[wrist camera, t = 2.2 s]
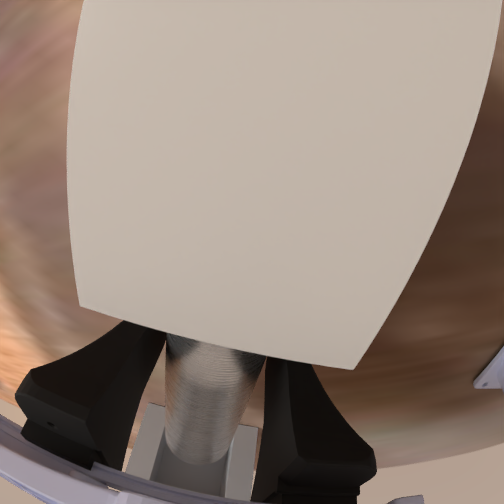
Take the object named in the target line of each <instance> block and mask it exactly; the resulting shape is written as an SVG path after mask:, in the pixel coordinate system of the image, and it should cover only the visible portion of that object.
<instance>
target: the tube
mask: <svg viewBox="0 0 504 504" xmlns="http://www.w3.org/2000/svg"><path fill="white" fill-rule="evenodd" d="M265 359H266V355H261V354H256V353H251V352H246V351H242V350H237V349H232V348H228V347H224V346H219V345H215V344H211V343H206V342H202V341H198V340H194V339H190V338H186V337H182V336H179V335H175V334H171V333H167V335H166V365H165V437H166V442H167V445H168V447H169V449H170V450H171V451H172V453H173V454H174V455H175V456H177V457H178V458H179V459H181V460H183V461H185V462H187V463H190V464H195V465H206V464H210V463H214V462H216V461H218V460H219V459H221V458H222V457H223V456H224V455H225V454H226V452H227V450H228V448H229V446H230V444H231V441H232V439H233V437H234V434H235V432H236V430H237V427H238V425H239V423H240V420H241V418H242V416H243V413H244V411H245V408H246V406H247V404H248V401H249V399H250V396H251V394H252V391H253V389H254V387H255V384H256V382H257V379H258V377H259V374H260V372H261V369H262V367H263V364H264V361H265Z"/></svg>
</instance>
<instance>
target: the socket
mask: <svg viewBox="0 0 504 504" xmlns="http://www.w3.org/2000/svg"><path fill="white" fill-rule="evenodd" d="M257 434H258V428H257V427H251V426H245V425H240V424H239V425H238V427H237V430H236V432H235V434H234V437H233V439H232V441H231V444H230V446H229V448H228V450H227V452H226V454H225V455H224V456H223V457H222V458H221V459H219V460H218V461H216V462H214V463H210V464H206V465H195V464H190V463H187V462H185V461H183V460H181V459H179V458H178V457H177V456H175V455H174V454H173V453H172V451H171V450H170V449H169V447H168V445H167V442H166V437H165V407H162V406H159V405H155V404H152V403H148V406H147V408H146V411H145V414H144V417H143V420H142V423H141V426H140V429H139V432H138V435H137V438H136V441H135V444H134V447H133V450H132V453H131V456H130V459H129V462H128V465H127V468H126V471H125V473H127V474H130V475H133V476H136V477H140V478H143V479H146V480H150V481H153V482H157V483H160V484H164V485H168V486H171V487H175V488H179V489H184V490H188V491H192V492H197V493H202V494H207V495H212V496H217V497H223V498H229V499H236V500H242V501H250V497H251V489H252V480H253V471H254V462H255V453H256V444H257Z"/></svg>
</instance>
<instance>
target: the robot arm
mask: <svg viewBox="0 0 504 504" xmlns="http://www.w3.org/2000/svg"><path fill="white" fill-rule="evenodd" d="M166 335H167V332H164V331H160V330H156V329H153V328H149V327H146V326H142V325H139V324H135V323H132V322H129V321H125V320H123V321H122V322H121V323H119V324H118V325H117V326H116V327H114V328H113V329H112V330H110V331H109V332H108V333H106V334H105V335H103V336H102V337H100V338H99V339H97V340H96V341H94V342H92V343H91V344H89V345H87V346H85V347H84V348H82V349H80V350H78V351H76V352H74V353H72V354H70V355H68V356H66V357H63V358H61V359H59V360H57V361H54V362H52V363H49V364H46V365H43V366H40V367H37V368H33V369H31V370H30V371H29V373H28V374H27V375H26V376H25V378H24V379H23V381H22V383H21V384H20V386H19V388H18V390H17V391H16V393H15V399H16V401H17V403H18V405H19V406H20V408H21V409H22V411H23V412H24V414H25V415H26V417H27V418H28V419H27V421H26V423H25V425H24V427H21V426H19V425H18V424H16V423H14V422H12V421H11V420H9V419H7V418H6V417H4V416H2V415H1V414H0V476H1V477H3V478H5V479H6V480H7V481H9V482H11V483H12V484H14V485H15V486H17V487H19V488H20V489H22V490H23V491H25V492H27V493H28V494H30V495H32V496H34V497H35V498H37V499H39V500H41V501H43V502H45V503H46V504H357V496H358V495H359V494H360V486H361V485H362V484H364V483H365V482H367V481H368V480H370V479H371V478H373V477H374V476H375V475H376V472H377V467H376V459H375V455H374V451H373V449H372V448H371V447H370V446H369V445H368V444H367V443H366V442H365V441H364V440H363V439H362V438H361V437H360V436H359V435H358V434H357V433H356V432H355V431H354V430H353V429H352V428H351V426H350V425H349V424H348V423H347V422H346V420H345V419H344V418H343V416H342V415H341V414H340V413H339V411H338V410H337V409H336V407H335V406H334V404H333V403H332V401H331V400H330V398H329V397H328V395H327V393H326V392H325V390H324V388H323V386H322V385H321V383H320V381H319V379H318V377H317V375H316V373H315V371H314V369H313V367H312V365H311V364H310V363H304V362H298V361H292V360H287V359H281V358H276V357H271V356H267V361H266V369H265V402H264V424H263V432H262V439H261V445H260V452H259V458H258V464H257V469H256V475H255V481H254V485H253V490H252V495H251V500H250V501H242V500H236V499H229V498H223V497H217V496H212V495H207V494H202V493H197V492H192V491H188V490H184V489H179V488H175V487H171V486H168V485H164V484H160V483H157V482H153V481H150V480H146V479H143V478H140V477H136V476H133V475H130V474H127V473H124V472H122V467H123V462H124V458H125V453H126V449H127V445H128V441H129V437H130V434H131V430H132V426H133V423H134V419H135V416H136V413H137V409H138V406H139V403H140V400H141V397H142V394H143V391H144V389H145V386H146V384H147V382H148V380H149V377H150V375H151V373H152V371H153V369H154V367H155V364H156V362H157V360H158V358H159V356H160V353H161V351H162V349H163V347H164V344H165V341H166ZM473 385H474V387H475V388H478V389H492V388H502V390H503V393H504V346H503V348H502V349H501V350H500V351H499V353H498V354H497V355H496V356H495V358H494V359H493V360H492V361H491V362H490V363H489V365H488V366H487V367H486V368H485V369H484V370H483V372H482V373H481V374H480V375H479V376H478V377H477V378H476V379H475V381H474V382H473ZM108 486H109V487H112V488H114V489H117V490H120V491H121V492H118V491H115V490H111V489H108ZM387 504H424V498H423V495H417V496H409V497H401V498H397V499H394V500H392V501H390V502H388V503H387Z"/></svg>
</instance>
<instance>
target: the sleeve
mask: <svg viewBox="0 0 504 504" xmlns="http://www.w3.org/2000/svg"><path fill="white" fill-rule="evenodd" d="M501 6H502V0H84V2H83V7H82V12H81V16H80V22H79V27H78V32H77V38H76V45H75V51H74V58H73V66H72V74H71V84H70V95H69V108H68V127H67V193H68V212H69V226H70V237H71V247H72V256H73V264H74V272H75V279H76V286H77V292H78V298H79V304H80V306H82V307H85V308H88V309H91V310H94V311H97V312H100V313H103V314H106V315H109V316H112V317H115V318H119V319H122V320H125V321H129V322H132V323H135V324H139V325H142V326H146V327H149V328H153V329H156V330H160V331H164V332H167V333H171V334H175V335H179V336H182V337H186V338H190V339H194V340H198V341H202V342H206V343H211V344H215V345H219V346H224V347H228V348H232V349H237V350H242V351H246V352H251V353H256V354H261V355H266V356H271V357H276V358H281V359H287V360H292V361H298V362H304V363H310V364H316V365H322V366H329V367H335V368H342V369H350V370H354V368H355V367H356V365H357V364H358V362H359V361H360V359H361V358H362V356H363V355H364V353H365V352H366V350H367V349H368V347H369V346H370V344H371V343H372V341H373V339H374V338H375V336H376V335H377V333H378V331H379V330H380V328H381V327H382V325H383V323H384V322H385V320H386V318H387V317H388V315H389V313H390V312H391V310H392V308H393V306H394V305H395V303H396V301H397V299H398V298H399V296H400V294H401V292H402V291H403V289H404V287H405V285H406V283H407V281H408V280H409V278H410V276H411V274H412V272H413V270H414V268H415V266H416V264H417V263H418V261H419V259H420V257H421V255H422V253H423V251H424V249H425V247H426V245H427V242H428V240H429V238H430V236H431V234H432V232H433V230H434V228H435V226H436V223H437V221H438V219H439V217H440V215H441V212H442V210H443V208H444V205H445V203H446V201H447V198H448V196H449V194H450V191H451V189H452V186H453V184H454V181H455V179H456V176H457V174H458V171H459V168H460V166H461V163H462V160H463V158H464V155H465V152H466V149H467V147H468V144H469V141H470V138H471V135H472V132H473V129H474V126H475V122H476V119H477V116H478V113H479V109H480V106H481V102H482V99H483V95H484V91H485V88H486V84H487V80H488V76H489V71H490V67H491V63H492V58H493V53H494V49H495V43H496V38H497V32H498V27H499V20H500V13H501Z"/></svg>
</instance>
